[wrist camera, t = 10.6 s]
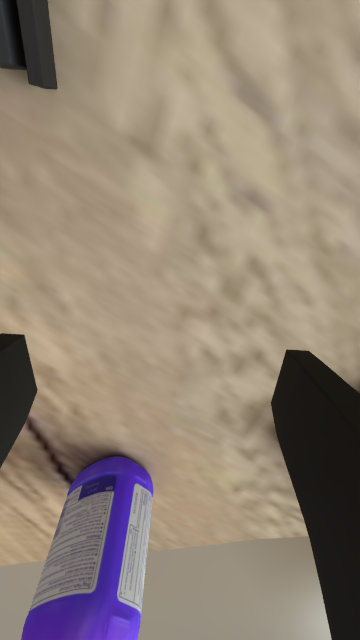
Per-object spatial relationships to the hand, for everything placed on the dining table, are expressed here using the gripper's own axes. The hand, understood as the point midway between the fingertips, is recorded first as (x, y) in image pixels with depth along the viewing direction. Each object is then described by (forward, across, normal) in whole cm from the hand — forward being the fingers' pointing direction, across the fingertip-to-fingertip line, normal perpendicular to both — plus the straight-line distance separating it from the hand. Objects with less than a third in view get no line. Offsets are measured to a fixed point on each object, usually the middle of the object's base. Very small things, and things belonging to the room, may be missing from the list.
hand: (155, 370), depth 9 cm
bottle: (+10, +4, +20) cm, 23 cm away
